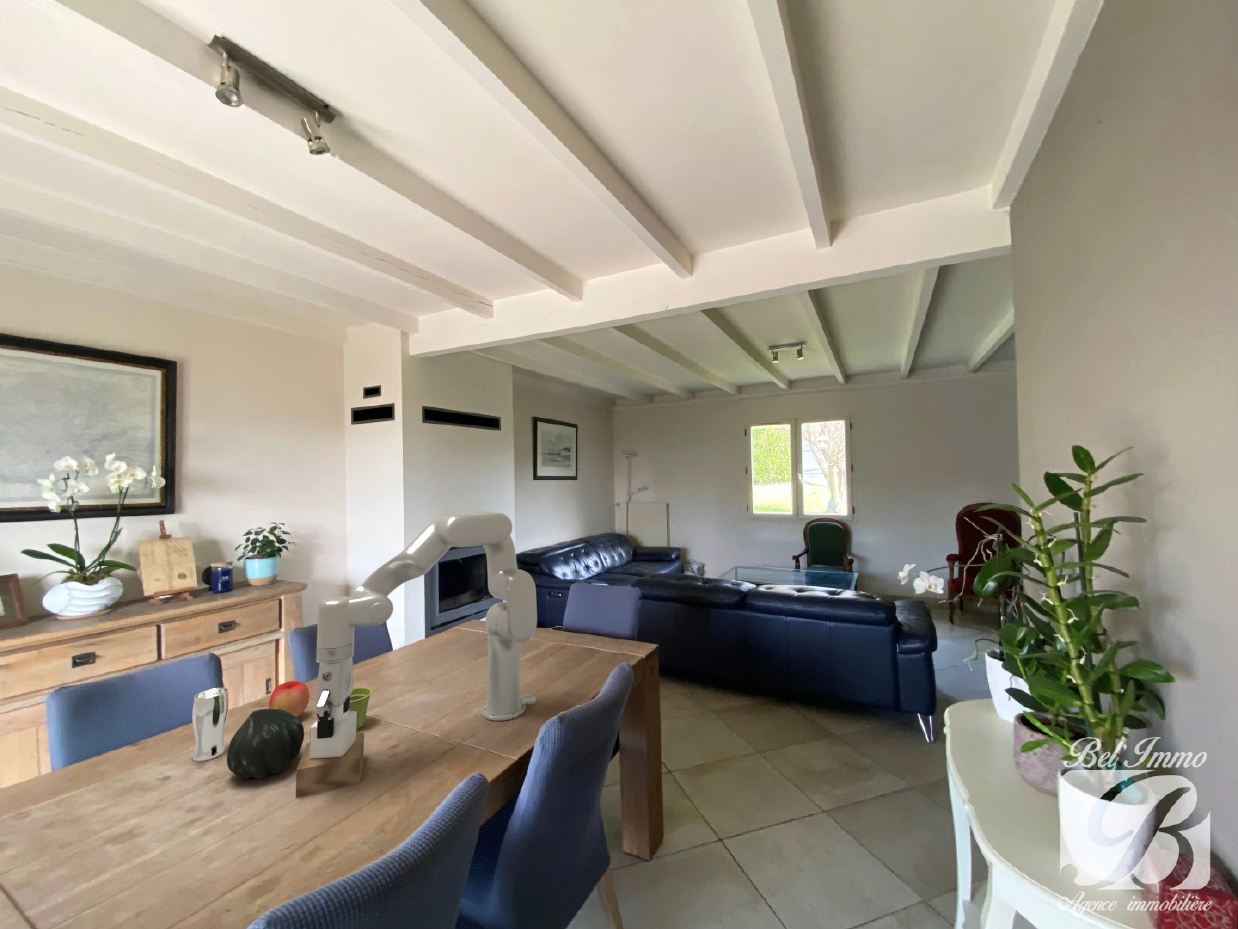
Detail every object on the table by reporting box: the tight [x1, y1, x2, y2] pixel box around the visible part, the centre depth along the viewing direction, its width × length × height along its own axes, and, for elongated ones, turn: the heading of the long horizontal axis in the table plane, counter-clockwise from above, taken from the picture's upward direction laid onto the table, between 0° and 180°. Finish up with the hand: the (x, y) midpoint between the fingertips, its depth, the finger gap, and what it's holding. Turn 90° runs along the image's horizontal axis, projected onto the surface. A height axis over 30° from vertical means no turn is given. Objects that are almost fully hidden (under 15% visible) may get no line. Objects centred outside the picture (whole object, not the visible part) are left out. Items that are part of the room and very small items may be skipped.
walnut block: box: [295, 732, 365, 798], centre depth 110 cm, size 12×12×6 cm
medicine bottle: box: [309, 696, 357, 759], centre depth 111 cm, size 7×7×12 cm
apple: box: [268, 680, 310, 718], centre depth 137 cm, size 10×10×10 cm
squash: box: [226, 708, 305, 780], centre depth 113 cm, size 14×15×15 cm
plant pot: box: [349, 687, 373, 730], centre depth 133 cm, size 9×9×9 cm
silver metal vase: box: [191, 687, 230, 762], centre depth 119 cm, size 7×7×15 cm
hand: (333, 727), depth 111 cm, fingers open, 9 cm apart
